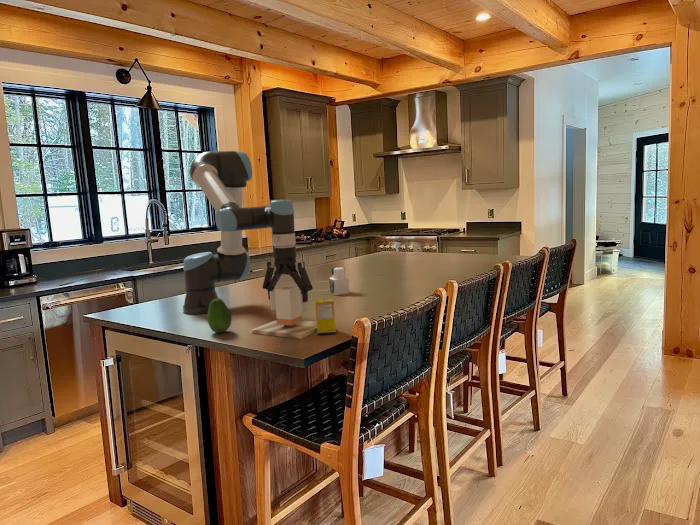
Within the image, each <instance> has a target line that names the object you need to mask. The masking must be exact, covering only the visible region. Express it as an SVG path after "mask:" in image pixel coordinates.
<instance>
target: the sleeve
mask: <svg viewBox="0 0 700 525" xmlns="http://www.w3.org/2000/svg"><path fill="white" fill-rule="evenodd" d="M274 290H275V301H276V309H275V312H276V313H275V314H276V319H277V318H278V319H289V320H292V319H294V318H297V317H299V316H302V313H301V312H300V297H299V293H300V292H301V291H300V289H299V287H298V286H296V285H295V286H293V285H284V286H280V287H276V288H274Z"/></svg>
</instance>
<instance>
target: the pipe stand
mask: <svg viewBox="0 0 700 525" xmlns="http://www.w3.org/2000/svg"><path fill="white" fill-rule="evenodd" d="M314 333H317V321H312V320H311V321H309V320H302V321H301V322H299V323H297V324H294V325H292V326H291V325H281V324H277V319H276V320H273V321H270V322H267V323H265V324H263V325H259V326H258V327H255V328H253V329H251V334H256V335H265V336H274V337H282V338H293V339H299V340H300V339H303V338H306V337H307V336H310V335H311V334H314Z"/></svg>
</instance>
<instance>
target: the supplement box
mask: <svg viewBox="0 0 700 525" xmlns="http://www.w3.org/2000/svg"><path fill="white" fill-rule="evenodd" d="M335 315H336V313H335V300H334V297H330V298H316V299H315V316H316V319H315V320H316V322H317V331H316V333H317V336H324V335H336V330H337V329H336V316H335Z"/></svg>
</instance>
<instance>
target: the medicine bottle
mask: <svg viewBox="0 0 700 525" xmlns="http://www.w3.org/2000/svg"><path fill="white" fill-rule="evenodd" d="M349 279H350V278H348V277H347V276H346V267H344V266H335V267H332V268H331V277H329V291H330V292H329V293H330V294H332V295H333V296H340V295H341V296H342V295H349V294H350V281H349Z"/></svg>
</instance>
